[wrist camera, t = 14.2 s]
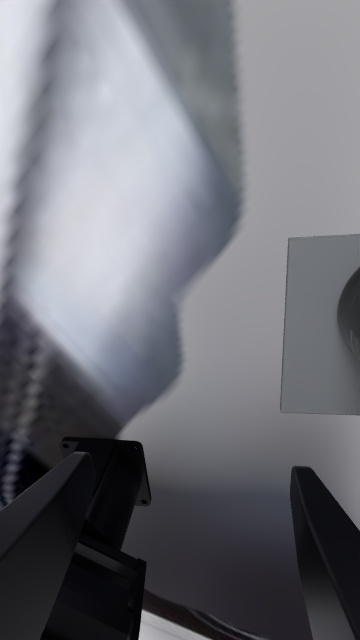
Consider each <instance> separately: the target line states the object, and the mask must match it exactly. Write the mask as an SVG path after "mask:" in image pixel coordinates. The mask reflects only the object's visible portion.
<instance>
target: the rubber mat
mask: <svg viewBox="0 0 360 640" xmlns="http://www.w3.org/2000/svg"><path fill="white" fill-rule="evenodd" d="M287 257H288V258H287V277H286V297H285V318H284V340H283V359H282V380H281V402H280V411H281V413H308V414H338V415H360V364H359V363H358V361H357V360H356V358H355V357H354V355H353V353H352V352H351V350H350V349H349V347H348V345H347V344H346V342H345V340H344V339H343V337H342V334H341V332H340V329H339V326H338V320H337V309H338V302H339V299H340V295H341V293H342V290H343V288H344V286H345V285H346V283H347V281H348V280H349V278H350V277H351V276H352V275H353V273H354V272H355V271H356V270H357V269H358V268H359V267H360V234H351V235H333V236H314V237H296V238H288V256H287Z"/></svg>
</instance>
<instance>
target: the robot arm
mask: <svg viewBox="0 0 360 640" xmlns="http://www.w3.org/2000/svg"><path fill="white" fill-rule="evenodd" d="M134 447H135V448H134ZM60 448H61V451H62V455H63V458H64V460H63V461H62V462H60V463H59V464H58V465H57V466H55V467H54V468H53V469H52V470H50V471H49V472H48V473H47V474H45V475H44V476H43V477H42V478H40V479H39V480H38V481H37V482H35V483H34V484H33V485H32V486H30V487H29V488H28V489H27V490H25V491H24V492H23V493H22V494H20V495H19V496H18V497H17V498H15V499H14V500H13V501H12V502H10V503H9V504H8V505H7V506H5V507H4V508H3V509H2V510H0V640H138V638H139V631H140V622H141V613H142V603H143V593H144V583H145V573H146V561H144V560H142V559H139V558H138V559H136V558H134V557H132V556H129V555H128V554H126V553H124V552H122V551H121V548H122V545H123V541H124V538H125V535H126V532H127V528H128V525H129V522H130V518H131V515H132V512H133V509H134V505H136V506H149V505H150V502H151V493H150V488H149V481H148V475H147V469H146V463H145V457H144V451H143V446H142V444H141V443H140V442H138V441H127V440H109V439H91V438H72V437H65V438H63V439H62V441H61V442H60ZM136 448H137V449H136ZM290 500H291V509H292V518H293V527H294V536H295V544H296V554H297V562H298V569H299V575H300V580H301V585H302V590H303V594H304V598H305V603H306V608H307V613H308V617H309V622H310V626H311V631H312V635H313V640H360V531H359V530H358V528H357V527H356V526H355V524H354V523H353V522H352V520H351V519H350V518H349V516H348V515H347V514H346V513H345V511H344V510H343V509H342V507H341V506H340V505H339V504H338V502H337V501H336V500H335V498H334V497H333V496H332V494H331V493H330V492H329V490H328V489H327V488H326V487H325V485H324V484H323V483H322V481H321V480H320V479H319V478H318V476H317V475H316V474H315V472H314V471H313V470H312V469H311V468H310V467H306V466H293V467H292V471H291V484H290Z"/></svg>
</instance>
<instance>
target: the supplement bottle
mask: <svg viewBox="0 0 360 640" xmlns="http://www.w3.org/2000/svg"><path fill="white" fill-rule="evenodd" d="M337 320H338V326H339V329H340V332H341V334H342V337H343V339H344V340H345V342H346V344H347V345H348V347H349V349H350V350H351V352H352V353H353V355H354V357H355V358H356V360H357V361H358V363H359V364H360V267H359V268H358V269H357V270H356V271H355V272H354V273H353V275H352V276H351V277H350V278H349V280H348V281H347V283H346V285H345V286H344V288H343V290H342V293H341V295H340V299H339V302H338V309H337Z"/></svg>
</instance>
